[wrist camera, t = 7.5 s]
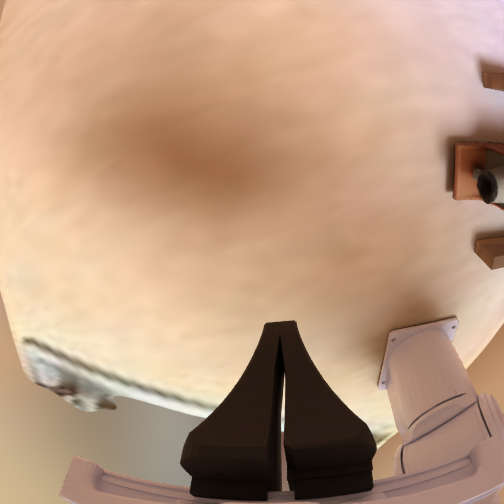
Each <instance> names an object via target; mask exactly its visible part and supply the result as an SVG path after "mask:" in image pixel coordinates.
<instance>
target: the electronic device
mask: <svg viewBox="0 0 504 504" xmlns="http://www.w3.org/2000/svg"><path fill="white" fill-rule="evenodd" d="M454 147H455V167H454V170H455V173H454V184H453V195H452V197H453V199H455V200H467V199H468V200H482V201H484V202H485V203H487V204H492V205H495V206H497V207H499V208H500V209H502V210H504V144H502V143H491V142H488V143H481V142H468V143H467V142H456V143H455V146H454Z"/></svg>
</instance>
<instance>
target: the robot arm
mask: <svg viewBox="0 0 504 504" xmlns="http://www.w3.org/2000/svg"><path fill="white" fill-rule="evenodd" d="M458 323H459V320H458V319H457V318H451V319H447V320H442V321H438V322H433V323H429V324H424V325H419V326H414V327H409V328H404V329H398V330H393V331H391V332H390V333H389V336H388V342H387V347H386V352H385V357H384V361H383V366H382V370H381V375H380V379H379V383H378V389H379V390H384V389H387V392H388V396H389V400H390V403H391V407H392V411H393V415H394V419H395V423H396V427H397V429H398V431H399V433H400V434H401V437H402V441H403V444H401V445H400V446H399V447H398V449H397V451H396V455H395V458H394V474H395V476H393V477H389V478H385V479H380V480H375V481H373V477H372V470H373V466H372V459H373V457H374V455H375V453H376V450H377V446H376V443H375V440H374V437H373V435H372V433H371V431H370V429H369V427H368V426H367V424H366V423H365V422H364V421H362V420H361V419H360V418H359V417H358V416H357V415H355V414H354V413H353V412H352V411H351V410H350V409H349V408H348V407H347V406H346V405H345V404H344V403H343V402H342V401H341V399H340V398H339V397H338V396H337V395H336V394H335V393H334V392H333V390H332V389H331V388H330V387H329V385H328V384H327V383H326V381H325V380H324V379H323V377H322V376H321V374H320V373H319V371H318V370H317V368H316V366H315V365H314V363H313V361H312V360H311V358H310V356H309V354H308V352H307V350H306V348H305V346H304V344H303V342H302V339H301V337H300V334H299V331H298V327H297V322H295V321H282V322H270V323H266V324H265V325H264V329H263V332H262V335H261V338H260V340H259V343H258V345H257V348H256V350H255V352H254V354H253V356H252V358H251V360H250V362H249V364H248V366H247V368H246V369H245V371H244V373H243V374H242V376H241V378H240V379H239V381H238V382H237V384H236V385H235V386H234V388H233V389H232V391H231V392H230V393H229V394H228V396H227V397H226V398H225V399H224V401H223V402H222V403H221V404H220V405H219V406H218V407H217V408H216V409H215V410H214V411H213V412H212V413H211V414H210V415H209V416H208V417H207V418H206V419H205V420H204V421H203V422H202V423H201V424H199V426H197V427H196V428H195V429H194V430H192V431H191V432H190V433H189V435H188V437H187V439H186V442H185V445H184V447H183V451H182V456H181V461H180V464H181V466H182V467H183V468H184V469H185V470H186V471H187V472H188V473H189V474H190V475H191V476H192V481H191V486H190V487H183V486H177V485H170V484H164V483H158V482H153V481H147V480H143V479H139V478H134V477H129V476H125V475H122V474H118V473H114V472H110V471H107V470H103V468H102V467H100V466H99V465H98V464H96V463H94V462H91V461H89V460H86V459H83V458H79V457H77V456H74V457H73V459H72V461H71V464H70V467H69V469H68V472H67V475H66V477H65V480H64V483H63V486H62V489H61V491H60V494H59V495H60V497H62V498H64V499H65V500H68V501H69V502H71V503H73V504H341V503H346V504H501V501H500V498H499V495H498V493H499V492H500V490H501V489H502V487H503V486H504V415H503V412H502V411H501V409H500V407H499V405H498V403H497V402H496V400H495V398H494V397H493V396H492V395H490V394H486V393H483V394H481V395H480V396H478V395H477V393H476V391H475V389H474V386H473V384H472V382H471V380H470V378H469V376H468V374H467V372H466V370H465V368H464V366H463V364H462V362H461V360H460V358H459V356H458V354H457V352H456V350H455V348H454V346H453V344H452V340H453V337H454V335H455V332H456V329H457V326H458ZM393 338H394V339H393ZM284 373H285V424H284V443H283V444H284V449H285V455H286V461H287V481H288V484H289V489H290V491H282V472H281V471H282V470H281V410H282V398H283V386H284Z"/></svg>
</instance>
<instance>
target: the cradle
mask: <svg viewBox="0 0 504 504" xmlns="http://www.w3.org/2000/svg"><path fill="white" fill-rule="evenodd" d="M483 83H484V87H485V88H490V89H495V90H500V91H504V73H483ZM475 253H476V254H477V255H478V256H479V257H480V258H481V259H482V260H483V261H484V262H485V263H486V264H487V266H488V267H489V268H490V269H491V270H493V269H498V268H502V267H504V236H502V237H495V238H488V239H480V240H477V241H476V247H475Z"/></svg>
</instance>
